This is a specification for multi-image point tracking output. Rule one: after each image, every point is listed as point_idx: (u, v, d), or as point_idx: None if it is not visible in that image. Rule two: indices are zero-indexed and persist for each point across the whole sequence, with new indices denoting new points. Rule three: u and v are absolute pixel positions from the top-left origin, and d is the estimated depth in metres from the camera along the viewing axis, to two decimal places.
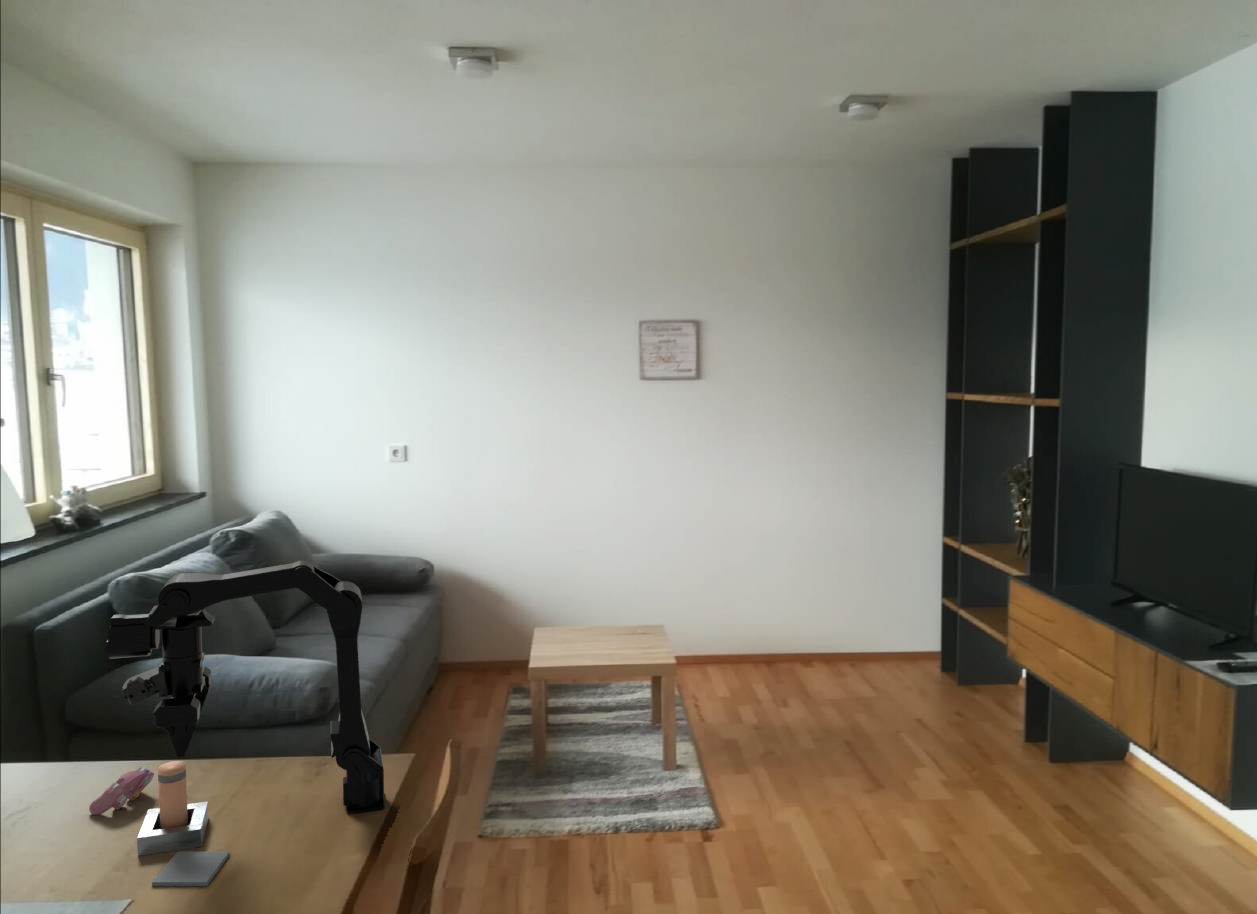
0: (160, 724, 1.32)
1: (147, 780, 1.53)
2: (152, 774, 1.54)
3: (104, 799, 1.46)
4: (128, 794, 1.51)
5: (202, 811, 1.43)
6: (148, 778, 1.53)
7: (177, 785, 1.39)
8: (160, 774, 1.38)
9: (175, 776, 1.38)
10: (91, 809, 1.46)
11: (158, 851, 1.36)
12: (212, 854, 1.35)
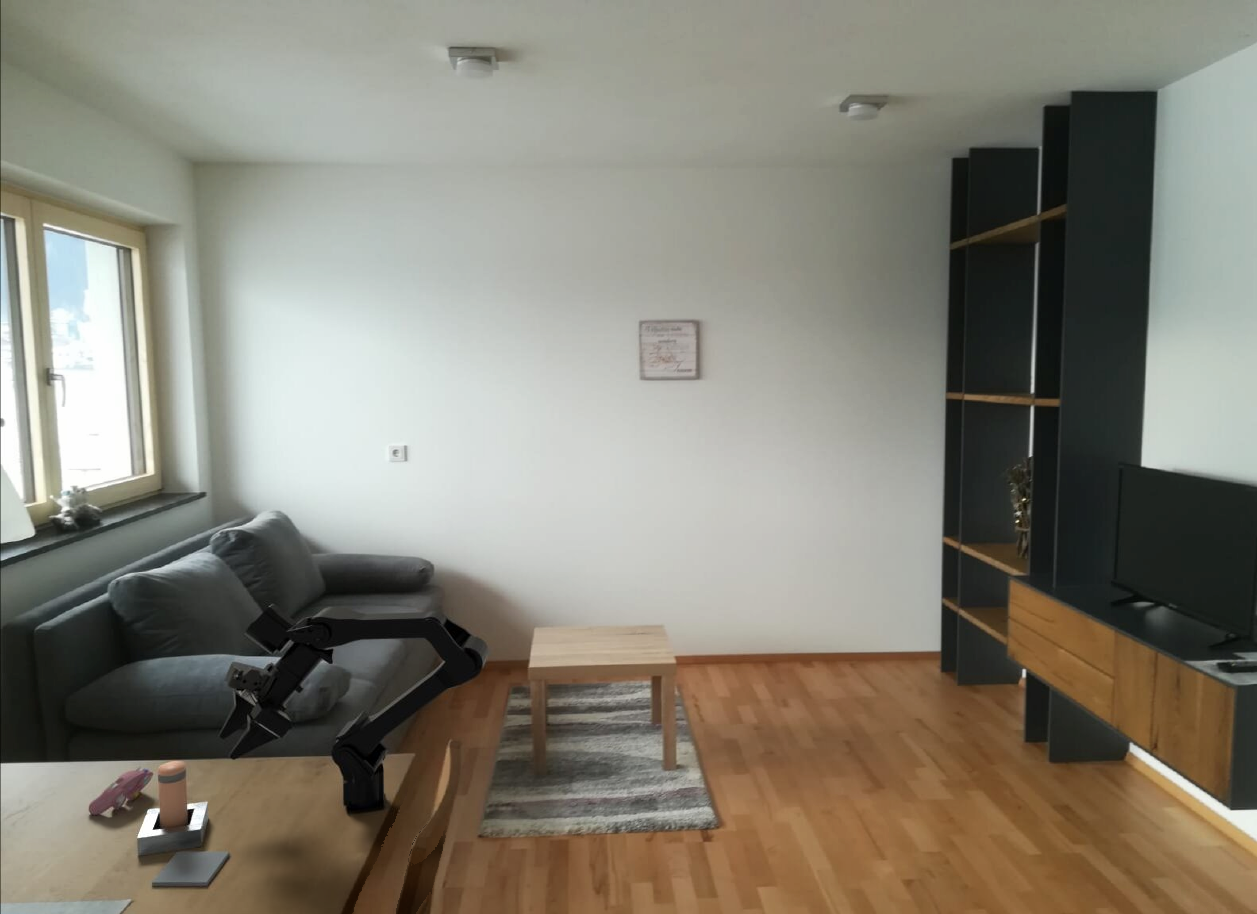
0: (261, 722, 1.38)
1: (146, 780, 1.53)
2: (151, 774, 1.54)
3: (103, 799, 1.46)
4: (127, 794, 1.51)
5: (202, 811, 1.43)
6: (147, 778, 1.53)
7: (177, 785, 1.39)
8: (160, 774, 1.38)
9: (175, 776, 1.38)
10: (90, 809, 1.47)
11: (158, 851, 1.36)
12: (212, 854, 1.35)
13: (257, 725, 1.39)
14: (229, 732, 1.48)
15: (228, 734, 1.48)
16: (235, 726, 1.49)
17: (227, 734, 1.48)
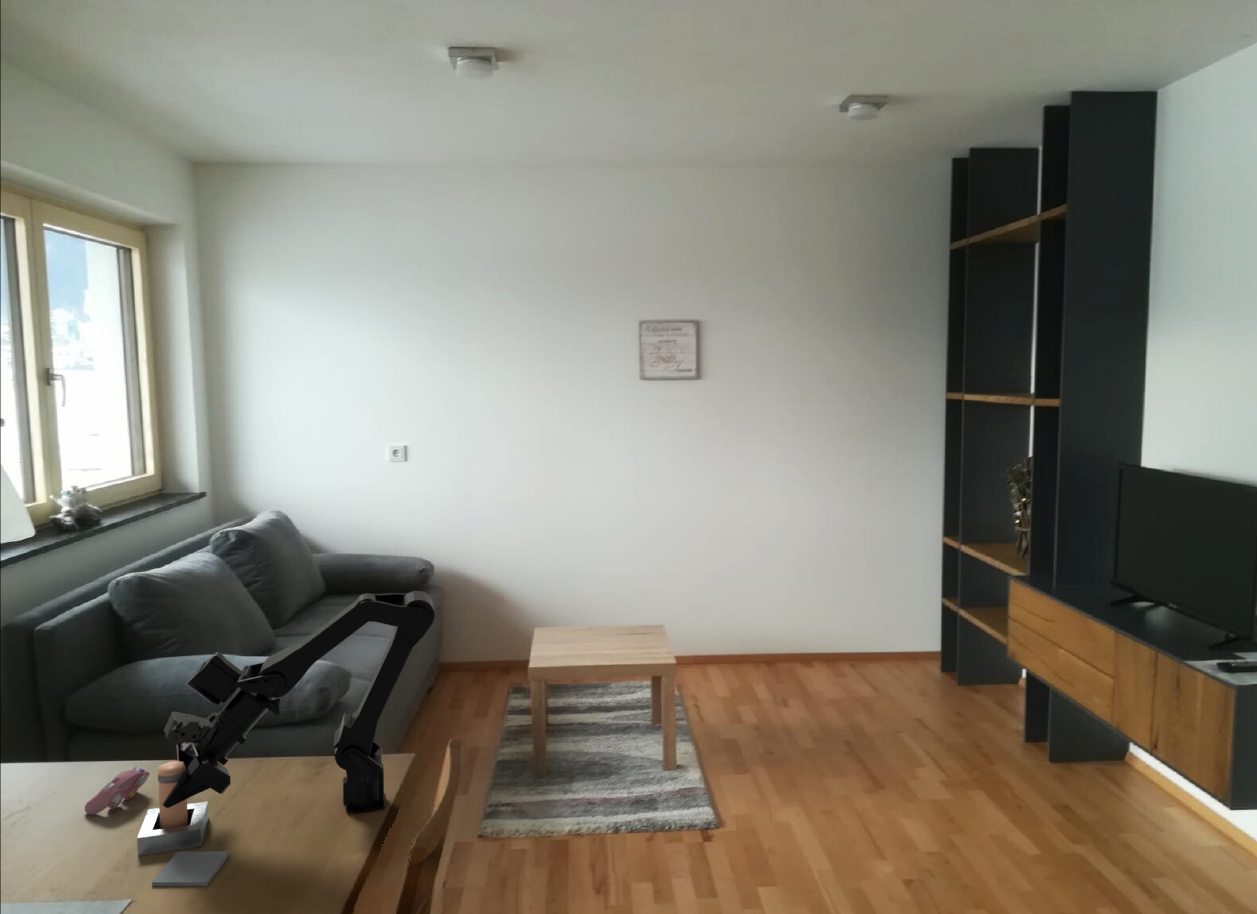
0: (197, 778, 1.33)
1: (142, 780, 1.53)
2: (147, 774, 1.54)
3: (99, 798, 1.46)
4: (123, 794, 1.51)
5: (202, 811, 1.43)
6: (143, 778, 1.53)
7: None
8: (160, 774, 1.38)
9: (175, 776, 1.38)
10: (87, 809, 1.47)
11: (158, 851, 1.36)
12: (212, 854, 1.35)
13: None
14: None
15: None
16: None
17: None
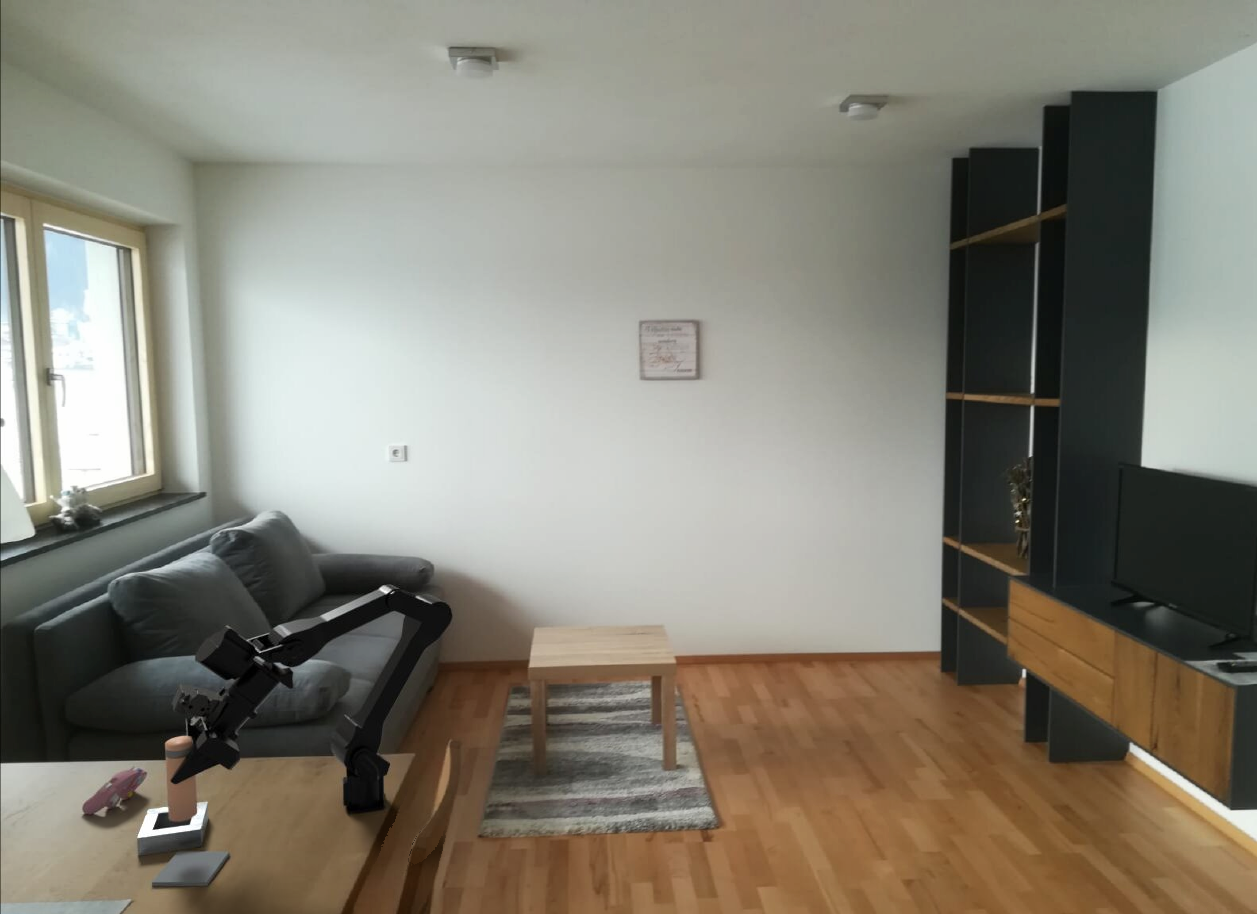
0: (205, 753, 1.27)
1: (140, 779, 1.53)
2: (145, 773, 1.54)
3: (97, 798, 1.46)
4: (121, 793, 1.51)
5: (202, 811, 1.43)
6: (141, 777, 1.53)
7: None
8: (167, 749, 1.32)
9: (183, 751, 1.32)
10: (84, 808, 1.47)
11: (158, 851, 1.36)
12: (212, 854, 1.35)
13: None
14: None
15: None
16: None
17: None
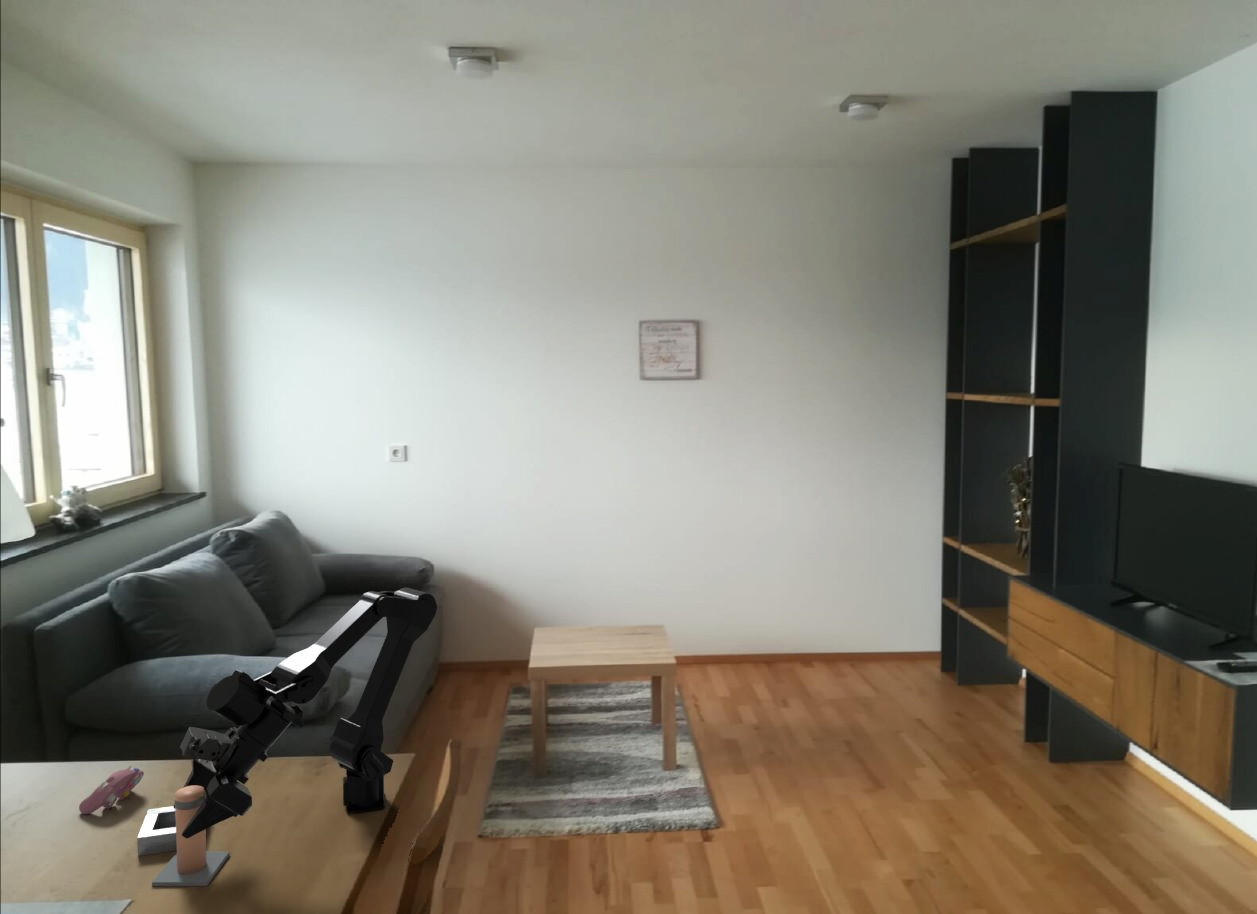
0: (217, 799, 1.24)
1: (137, 779, 1.53)
2: (142, 773, 1.54)
3: (94, 798, 1.46)
4: (118, 793, 1.51)
5: None
6: (138, 777, 1.53)
7: (195, 811, 1.30)
8: (177, 800, 1.29)
9: (193, 802, 1.29)
10: (81, 808, 1.47)
11: (158, 851, 1.36)
12: (212, 854, 1.35)
13: (213, 802, 1.25)
14: None
15: None
16: None
17: None
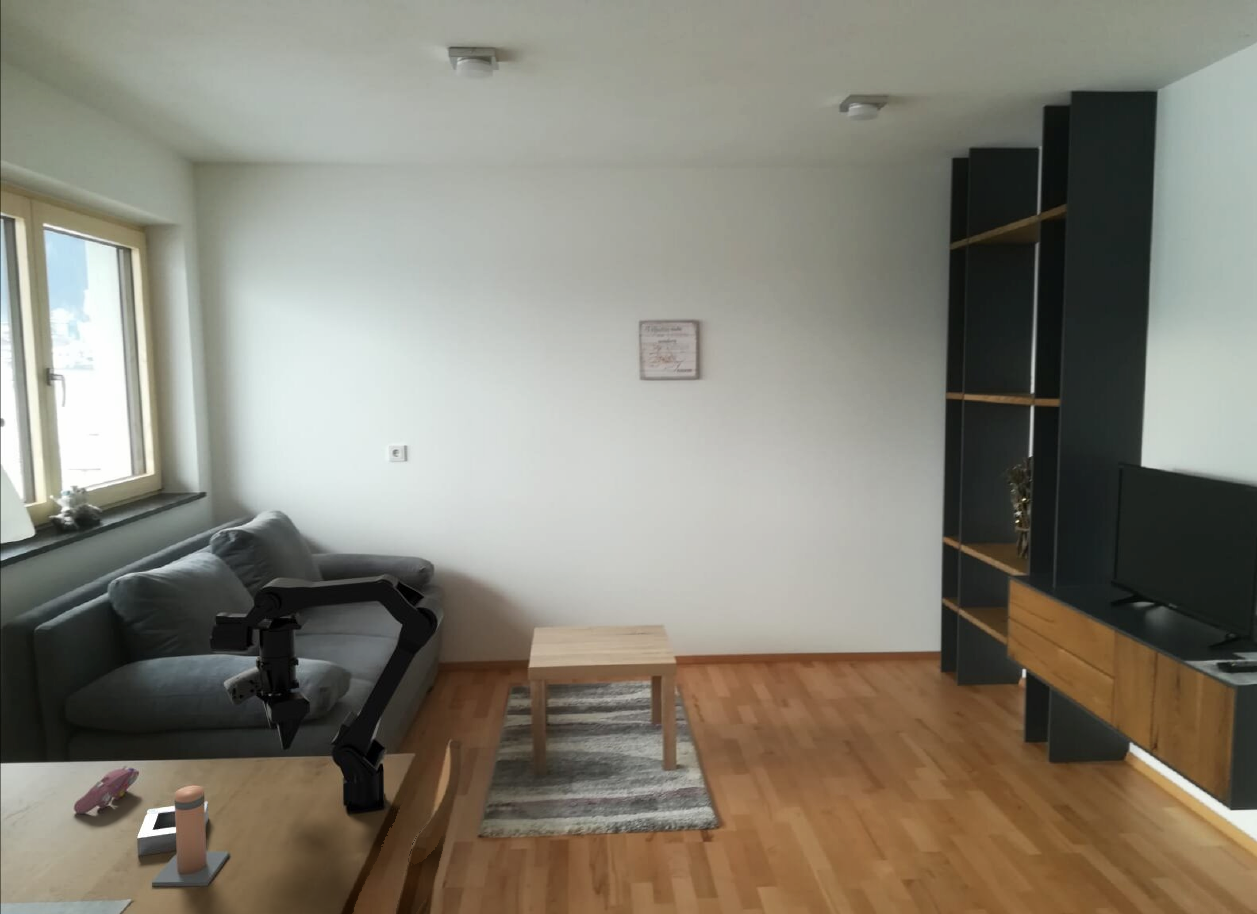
0: (279, 718, 1.41)
1: (132, 779, 1.53)
2: (137, 773, 1.54)
3: (89, 797, 1.46)
4: (113, 793, 1.51)
5: None
6: (133, 777, 1.53)
7: (195, 811, 1.30)
8: (177, 800, 1.29)
9: (193, 802, 1.29)
10: (76, 808, 1.47)
11: (158, 851, 1.36)
12: (212, 854, 1.35)
13: (279, 720, 1.42)
14: None
15: None
16: None
17: (276, 723, 1.54)
